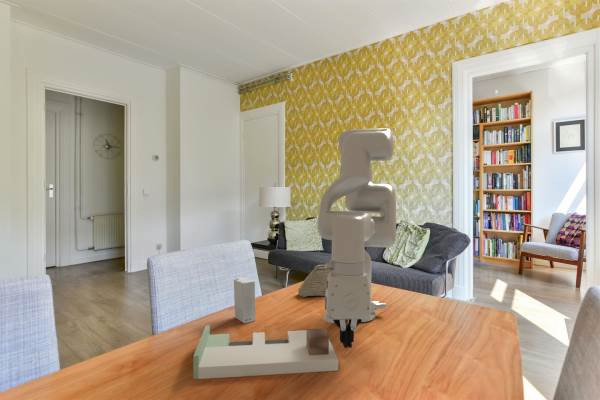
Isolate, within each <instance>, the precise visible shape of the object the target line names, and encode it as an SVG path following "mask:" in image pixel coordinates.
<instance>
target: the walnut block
mask: <svg viewBox="0 0 600 400" xmlns="http://www.w3.org/2000/svg"><path fill="white" fill-rule="evenodd" d="M306 330H307V340H306V346H307V349H308V353H309V355H326V354H329V340H330V336H329V335H328V332H327V330H326V328H325V327H323V328H306Z"/></svg>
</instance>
